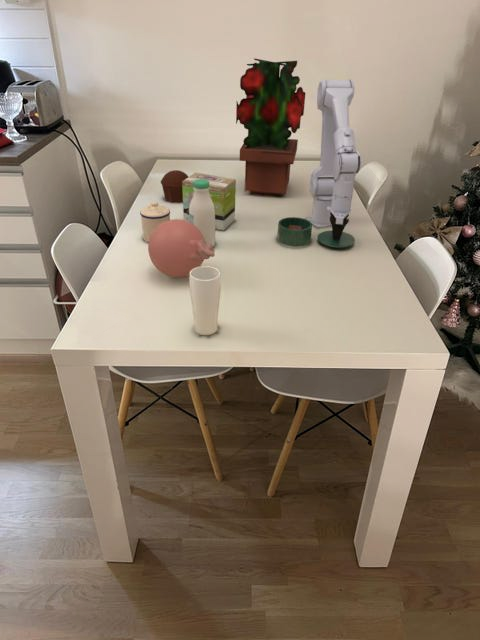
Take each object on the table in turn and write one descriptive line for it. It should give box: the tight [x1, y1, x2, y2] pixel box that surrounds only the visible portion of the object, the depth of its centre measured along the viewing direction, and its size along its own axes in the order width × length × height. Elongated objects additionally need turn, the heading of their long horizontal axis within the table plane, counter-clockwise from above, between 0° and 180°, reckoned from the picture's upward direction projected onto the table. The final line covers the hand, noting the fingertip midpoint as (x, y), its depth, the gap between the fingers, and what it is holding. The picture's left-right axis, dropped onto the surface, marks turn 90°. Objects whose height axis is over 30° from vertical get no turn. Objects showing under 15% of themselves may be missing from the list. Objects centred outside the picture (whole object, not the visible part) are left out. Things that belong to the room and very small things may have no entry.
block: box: [288, 225, 302, 230], centre depth 154 cm, size 4×4×4 cm
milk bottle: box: [189, 179, 216, 248], centre depth 145 cm, size 8×8×20 cm
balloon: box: [147, 218, 215, 278], centre depth 130 cm, size 15×20×15 cm
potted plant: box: [235, 58, 306, 198], centre depth 180 cm, size 22×22×45 cm
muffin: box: [160, 169, 189, 204], centre depth 181 cm, size 12×11×10 cm
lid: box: [317, 230, 356, 249], centre depth 151 cm, size 11×11×4 cm
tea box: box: [182, 172, 237, 232], centre depth 162 cm, size 15×10×15 cm
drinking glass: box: [188, 265, 222, 336], centre depth 110 cm, size 7×7×15 cm
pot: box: [276, 216, 313, 248], centre depth 153 cm, size 10×10×6 cm
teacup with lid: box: [139, 201, 171, 243], centre depth 152 cm, size 12×9×12 cm
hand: (336, 237), depth 152 cm, fingers closed on lid, 2 cm apart
